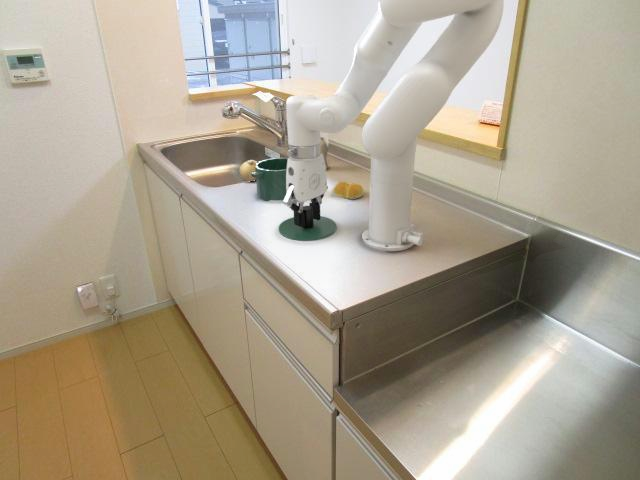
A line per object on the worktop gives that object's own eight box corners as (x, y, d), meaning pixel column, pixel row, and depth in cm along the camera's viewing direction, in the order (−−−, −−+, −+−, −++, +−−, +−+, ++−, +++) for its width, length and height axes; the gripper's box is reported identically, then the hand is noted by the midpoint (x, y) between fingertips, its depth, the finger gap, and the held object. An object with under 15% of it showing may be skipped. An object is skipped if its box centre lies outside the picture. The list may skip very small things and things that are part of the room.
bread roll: (360, 201, 131) (360, 188, 130) (330, 198, 134) (330, 186, 132) (365, 191, 138) (366, 179, 137) (337, 189, 141) (337, 177, 139)
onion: (235, 180, 152) (232, 159, 149) (253, 174, 157) (251, 154, 154) (250, 184, 147) (248, 163, 144) (268, 178, 152) (267, 158, 149)
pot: (317, 190, 140) (316, 160, 136) (272, 208, 128) (269, 176, 124) (286, 181, 149) (285, 153, 145) (241, 197, 136) (238, 167, 132)
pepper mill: (332, 167, 162) (332, 125, 155) (322, 172, 157) (321, 129, 150) (316, 165, 165) (315, 123, 159) (306, 170, 160) (304, 127, 154)
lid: (348, 228, 114) (348, 206, 112) (309, 248, 105) (308, 224, 102) (306, 214, 123) (305, 193, 120) (266, 232, 113) (265, 209, 111)
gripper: (290, 161, 97) (294, 237, 105) (340, 145, 108) (340, 215, 116) (266, 156, 102) (272, 229, 110) (317, 141, 113) (319, 208, 121)
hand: (307, 221), depth 113 cm, fingers open, 4 cm apart
